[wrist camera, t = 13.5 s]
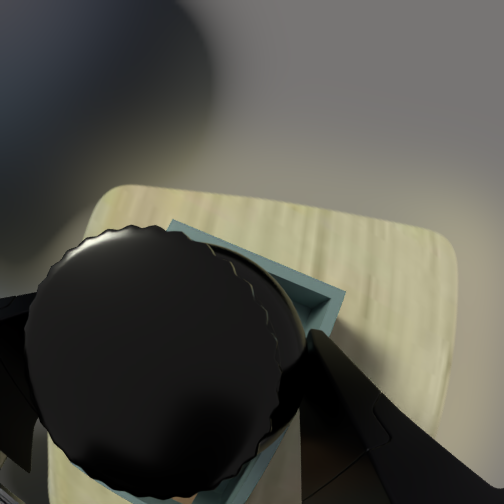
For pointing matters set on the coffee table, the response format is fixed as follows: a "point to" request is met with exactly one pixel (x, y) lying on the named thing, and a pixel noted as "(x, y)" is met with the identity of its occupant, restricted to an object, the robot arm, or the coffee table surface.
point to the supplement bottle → (162, 360)
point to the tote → (313, 317)
